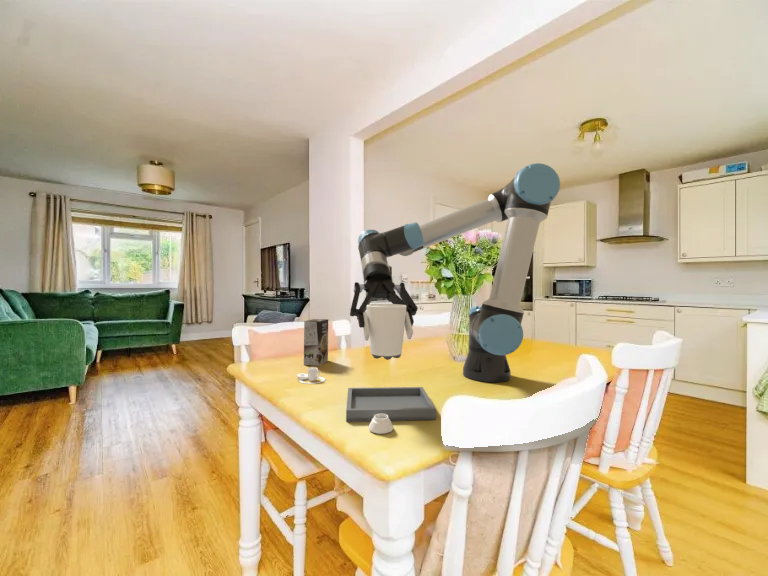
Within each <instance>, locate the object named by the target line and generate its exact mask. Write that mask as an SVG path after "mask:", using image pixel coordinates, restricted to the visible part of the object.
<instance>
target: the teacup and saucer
mask: <svg viewBox="0 0 768 576" xmlns="http://www.w3.org/2000/svg"><path fill="white" fill-rule="evenodd" d="M320 375H321V371H320V370H319V368H318V366H317V367H316V366H311V367H307V373H305V372H304V373H303V372H302V373H298V374H297V375H296V378H297V379H298V381H299V383H301V384H306V385H315V384H320V383H323V382H325V381H326V378H325V377H322V376H320ZM317 379H320V381H317ZM307 380H308V381H310V382H307ZM305 381H306V382H305ZM315 381H317V382H315Z"/></svg>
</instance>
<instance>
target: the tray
mask: <svg viewBox="0 0 768 576" xmlns="http://www.w3.org/2000/svg"><path fill="white" fill-rule="evenodd" d="M346 399H347V401H346V408H345V409H346V410H345V412H346V413H345V422H346V423H347V422H350V423H351V422H352V423H353V422H356V423H357V422H371V421H372V419H373V418H374V415H376V414H386V415H388V417H389V419H390V421H391V422H395V421H396V422H399V421H402V422H404V421H407V422H408V421H409V422H410V421H437V408H436V407H435V405H434V404H433V402H432V400H431V398H430V397H429V395H428V393H427V392H426V390H425V389H424V386H402V387H401V386H398V387H397V386H396V387H395V386H394V387H393V386H389V387H388V386H387V387H385V386H384V387H382V386H381V387H377V386H376V387H348V388H347V398H346Z"/></svg>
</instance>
